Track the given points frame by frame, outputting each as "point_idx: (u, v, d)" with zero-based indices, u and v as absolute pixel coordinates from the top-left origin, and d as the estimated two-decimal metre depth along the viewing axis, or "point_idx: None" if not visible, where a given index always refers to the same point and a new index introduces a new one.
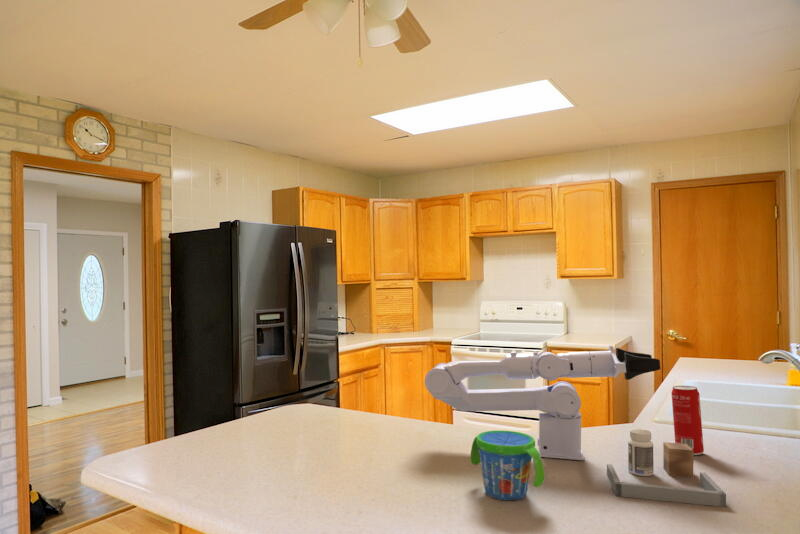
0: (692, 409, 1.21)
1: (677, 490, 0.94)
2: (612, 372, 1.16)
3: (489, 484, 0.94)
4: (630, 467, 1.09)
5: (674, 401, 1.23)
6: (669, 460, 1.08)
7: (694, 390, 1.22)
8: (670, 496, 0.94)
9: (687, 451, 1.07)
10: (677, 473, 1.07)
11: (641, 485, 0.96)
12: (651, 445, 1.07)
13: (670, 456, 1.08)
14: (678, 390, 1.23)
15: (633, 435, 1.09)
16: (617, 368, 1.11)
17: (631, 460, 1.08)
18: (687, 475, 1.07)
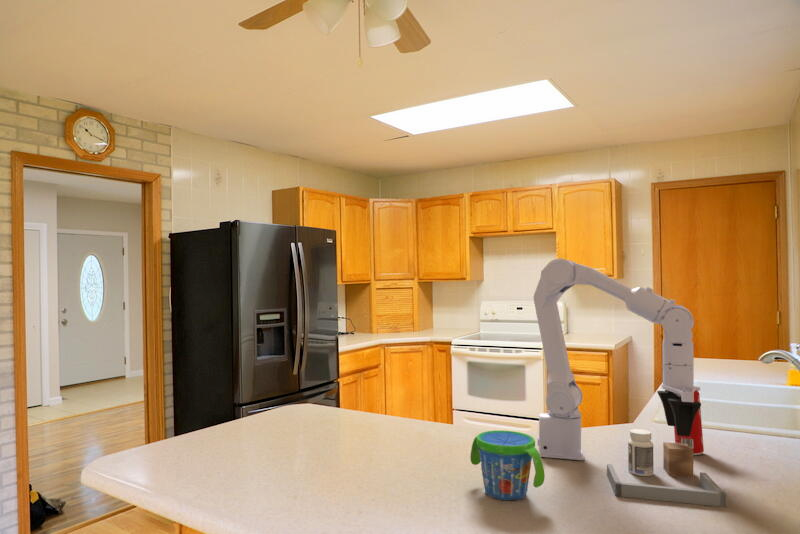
0: None
1: (677, 490, 0.94)
2: (672, 386, 1.08)
3: (489, 484, 0.94)
4: (630, 467, 1.09)
5: None
6: (669, 460, 1.08)
7: None
8: (670, 496, 0.94)
9: (687, 451, 1.07)
10: (677, 473, 1.07)
11: (641, 485, 0.96)
12: (651, 445, 1.07)
13: (670, 456, 1.08)
14: None
15: (633, 435, 1.09)
16: (687, 393, 1.03)
17: (631, 460, 1.08)
18: (687, 475, 1.07)
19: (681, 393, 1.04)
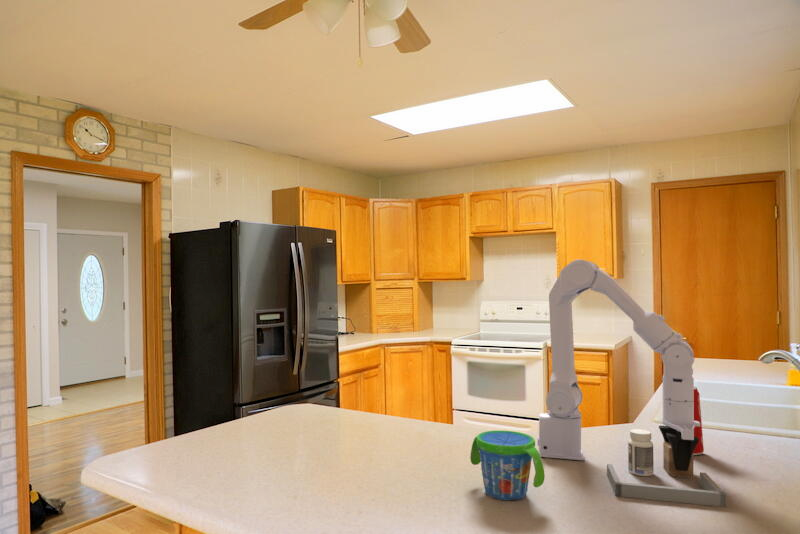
0: None
1: (677, 490, 0.94)
2: (672, 422, 1.08)
3: (489, 484, 0.94)
4: (630, 467, 1.09)
5: None
6: (669, 460, 1.08)
7: (694, 390, 1.22)
8: (670, 496, 0.94)
9: None
10: (677, 473, 1.07)
11: (641, 485, 0.96)
12: (651, 445, 1.07)
13: (670, 456, 1.08)
14: None
15: (633, 435, 1.09)
16: (687, 431, 1.02)
17: (631, 460, 1.08)
18: (687, 475, 1.07)
19: (681, 430, 1.03)
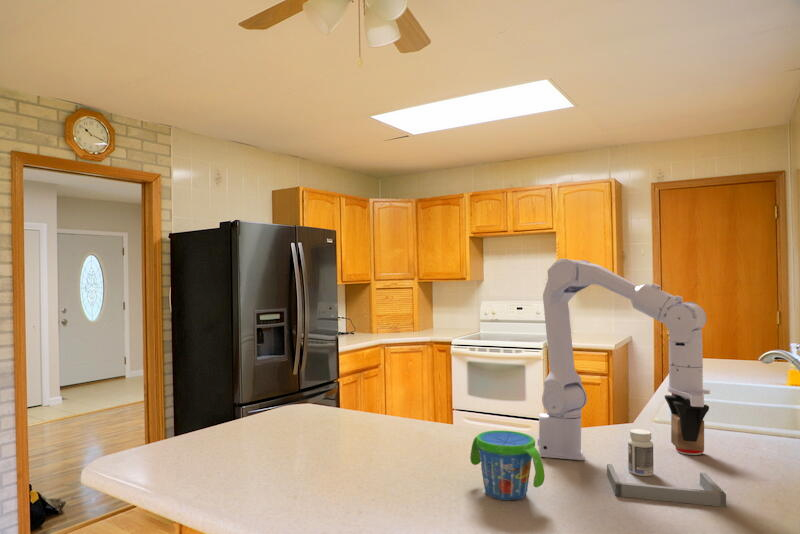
0: None
1: (677, 490, 0.94)
2: (680, 389, 1.00)
3: (489, 484, 0.94)
4: (630, 467, 1.09)
5: None
6: (678, 432, 1.00)
7: None
8: (670, 496, 0.94)
9: None
10: (686, 446, 0.99)
11: (641, 485, 0.96)
12: (651, 445, 1.07)
13: (679, 427, 1.00)
14: None
15: (633, 435, 1.09)
16: (697, 397, 0.95)
17: (631, 460, 1.08)
18: (697, 448, 0.99)
19: (690, 397, 0.96)
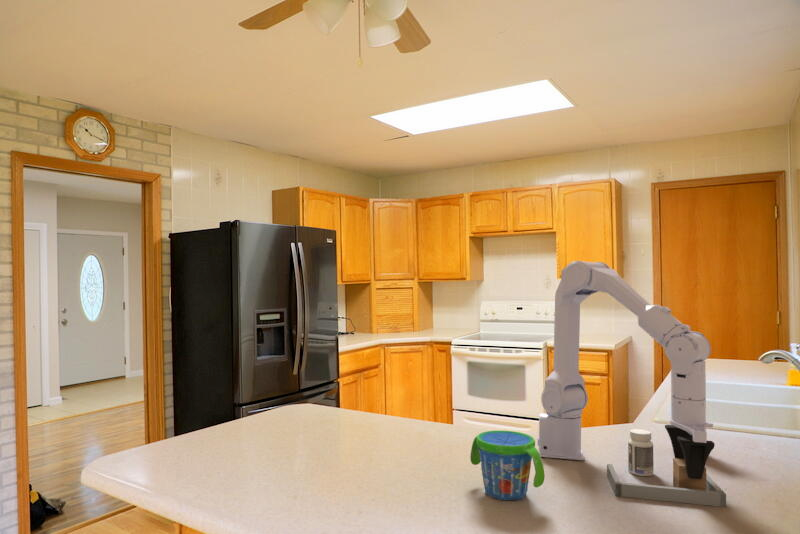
0: None
1: (677, 490, 0.94)
2: (682, 422, 0.97)
3: (489, 484, 0.94)
4: (630, 467, 1.09)
5: None
6: (679, 479, 0.97)
7: None
8: (670, 496, 0.94)
9: None
10: None
11: (641, 485, 0.96)
12: (651, 445, 1.07)
13: (680, 474, 0.97)
14: None
15: (633, 435, 1.09)
16: (700, 432, 0.92)
17: (631, 460, 1.08)
18: None
19: (692, 432, 0.93)
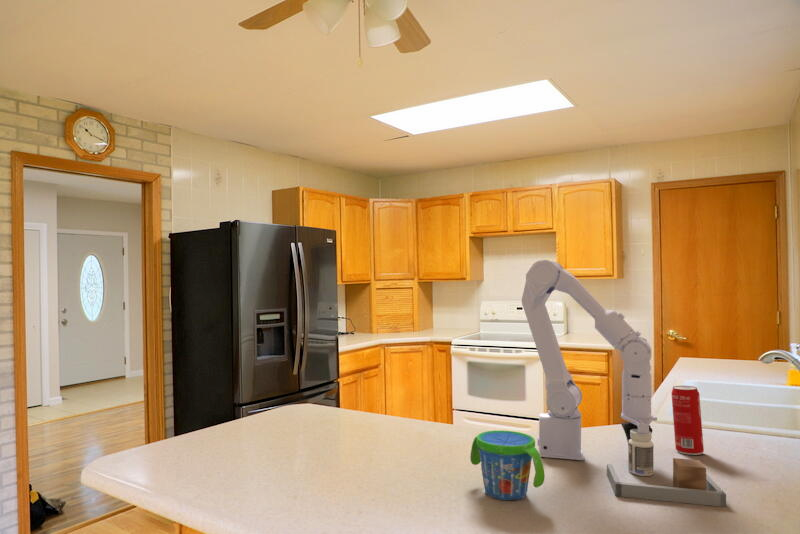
0: (692, 409, 1.21)
1: (677, 490, 0.94)
2: (630, 416, 1.12)
3: (489, 484, 0.94)
4: (630, 467, 1.09)
5: (674, 401, 1.23)
6: (679, 478, 0.97)
7: (694, 390, 1.22)
8: (670, 496, 0.94)
9: (699, 469, 0.96)
10: None
11: (641, 485, 0.96)
12: (651, 445, 1.07)
13: (680, 474, 0.97)
14: (678, 390, 1.23)
15: (633, 435, 1.08)
16: (643, 425, 1.07)
17: (631, 460, 1.08)
18: None
19: (637, 424, 1.07)
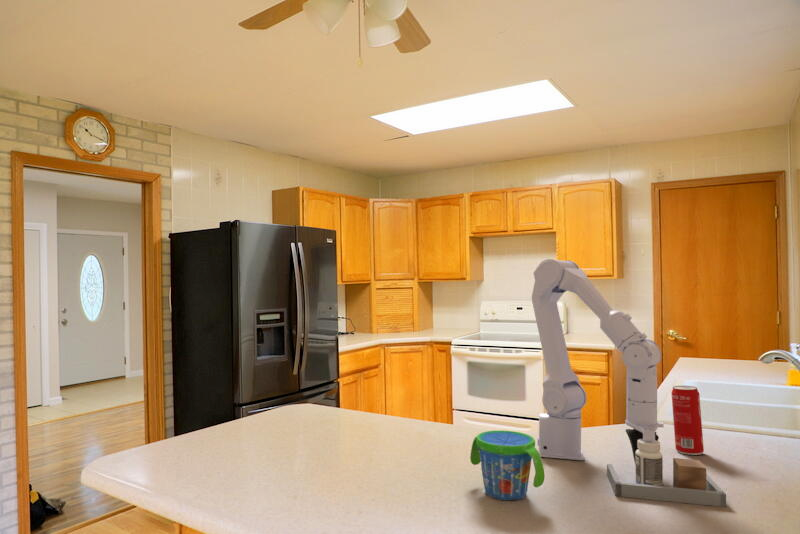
0: (692, 409, 1.21)
1: (677, 490, 0.94)
2: (635, 423, 1.06)
3: (489, 484, 0.94)
4: (638, 480, 1.01)
5: (674, 401, 1.23)
6: (679, 478, 0.97)
7: (694, 390, 1.22)
8: (670, 496, 0.94)
9: (699, 469, 0.96)
10: None
11: (641, 485, 0.96)
12: (660, 456, 1.00)
13: (680, 474, 0.97)
14: (678, 390, 1.23)
15: (641, 446, 1.01)
16: (649, 432, 1.01)
17: (640, 472, 1.01)
18: None
19: (643, 431, 1.02)
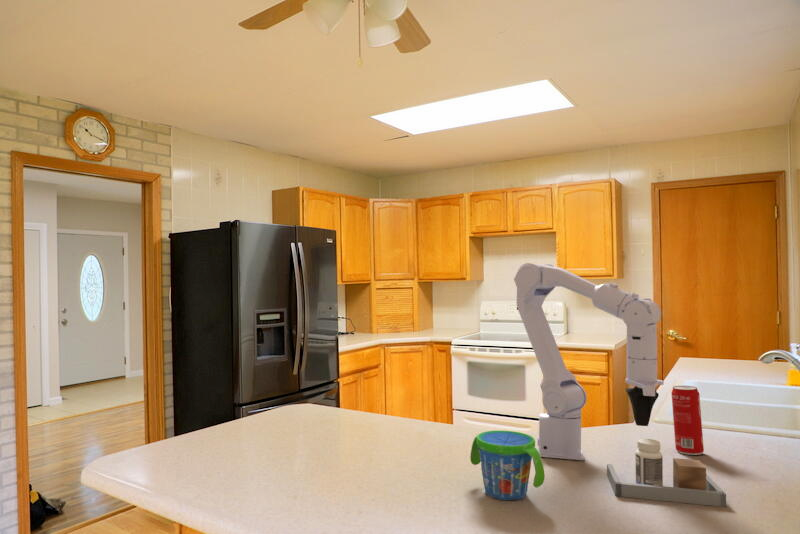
0: (692, 409, 1.21)
1: (677, 490, 0.94)
2: (635, 380, 1.07)
3: (489, 484, 0.94)
4: (638, 480, 1.01)
5: (674, 401, 1.23)
6: (679, 478, 0.97)
7: (694, 390, 1.22)
8: (670, 496, 0.94)
9: (699, 469, 0.96)
10: None
11: (641, 485, 0.96)
12: (661, 456, 1.00)
13: (680, 474, 0.97)
14: (678, 390, 1.23)
15: (641, 446, 1.01)
16: (649, 387, 1.02)
17: (640, 472, 1.01)
18: None
19: (643, 387, 1.02)
